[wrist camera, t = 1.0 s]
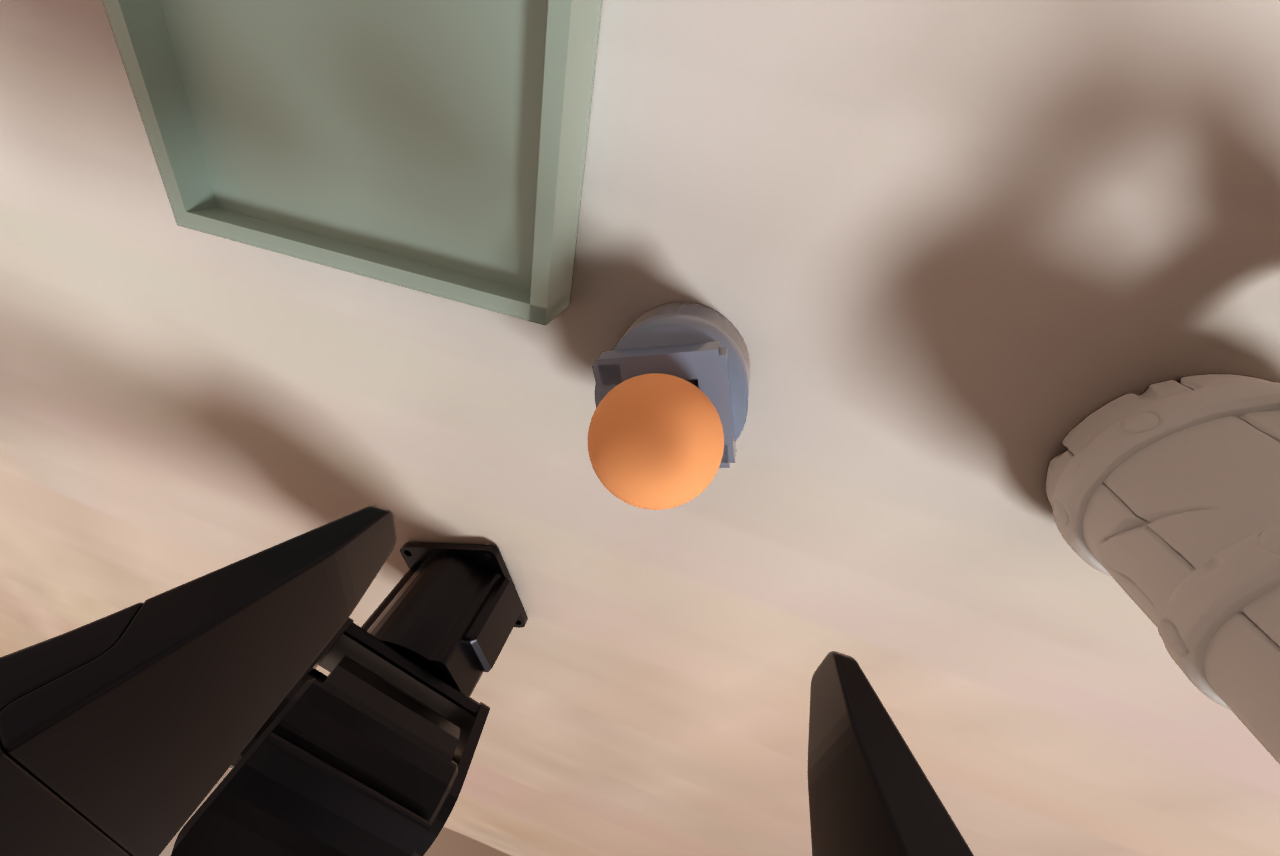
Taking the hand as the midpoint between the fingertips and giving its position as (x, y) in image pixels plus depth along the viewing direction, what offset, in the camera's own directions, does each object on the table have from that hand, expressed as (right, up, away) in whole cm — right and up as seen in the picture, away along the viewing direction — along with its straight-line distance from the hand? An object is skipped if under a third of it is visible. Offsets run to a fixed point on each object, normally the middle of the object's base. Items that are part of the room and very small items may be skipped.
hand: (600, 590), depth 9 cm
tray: (-8, +14, +7) cm, 18 cm away
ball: (+1, +3, +5) cm, 6 cm away
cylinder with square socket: (+2, +6, +9) cm, 11 cm away
